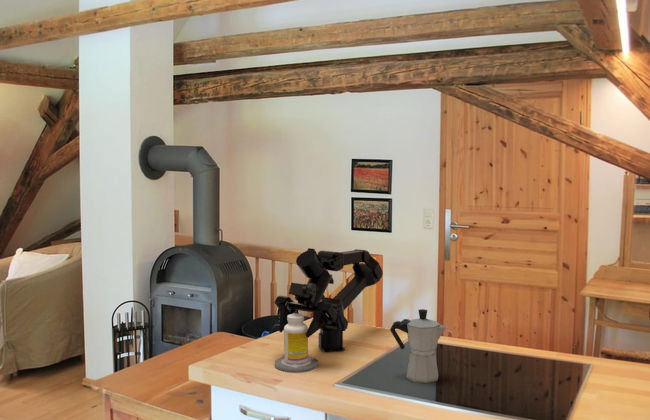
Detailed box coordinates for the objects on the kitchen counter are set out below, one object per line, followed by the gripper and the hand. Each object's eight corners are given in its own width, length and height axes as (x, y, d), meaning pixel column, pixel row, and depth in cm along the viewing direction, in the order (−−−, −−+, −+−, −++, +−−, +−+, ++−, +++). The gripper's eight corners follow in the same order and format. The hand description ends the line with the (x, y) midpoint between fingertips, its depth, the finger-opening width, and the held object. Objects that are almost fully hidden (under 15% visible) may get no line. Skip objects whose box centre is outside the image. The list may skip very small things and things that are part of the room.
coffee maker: (448, 373, 165) (448, 307, 163) (445, 385, 156) (446, 315, 155) (392, 368, 169) (392, 304, 167) (387, 380, 160) (387, 311, 159)
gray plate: (310, 356, 180) (310, 352, 179) (323, 369, 168) (323, 365, 168) (270, 360, 176) (270, 356, 176) (280, 374, 165) (280, 370, 164)
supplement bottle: (312, 362, 171) (312, 316, 170) (291, 366, 168) (291, 320, 166) (300, 355, 177) (300, 311, 176) (280, 359, 173) (279, 314, 172)
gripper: (277, 268, 178) (253, 313, 170) (331, 274, 168) (308, 323, 160) (294, 290, 185) (271, 334, 177) (347, 297, 175) (325, 345, 167)
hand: (293, 334), depth 170 cm, fingers open, 9 cm apart
